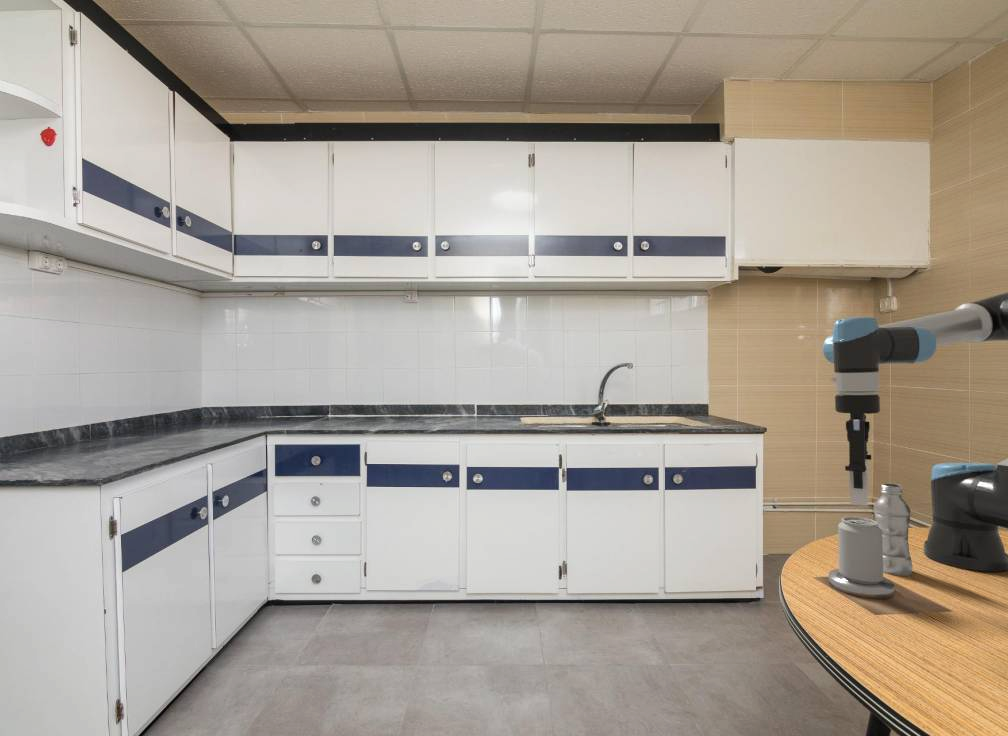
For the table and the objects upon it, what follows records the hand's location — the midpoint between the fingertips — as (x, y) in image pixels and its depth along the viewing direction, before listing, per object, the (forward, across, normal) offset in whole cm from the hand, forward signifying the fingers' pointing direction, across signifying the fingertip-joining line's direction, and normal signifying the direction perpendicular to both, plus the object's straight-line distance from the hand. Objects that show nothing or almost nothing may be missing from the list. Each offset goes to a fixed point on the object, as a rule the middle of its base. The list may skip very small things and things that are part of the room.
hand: (860, 497), depth 105 cm
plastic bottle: (+20, -15, +5) cm, 25 cm away
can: (+17, 0, 0) cm, 17 cm away
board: (+20, +1, +2) cm, 20 cm away
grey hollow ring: (+18, 0, 0) cm, 18 cm away
